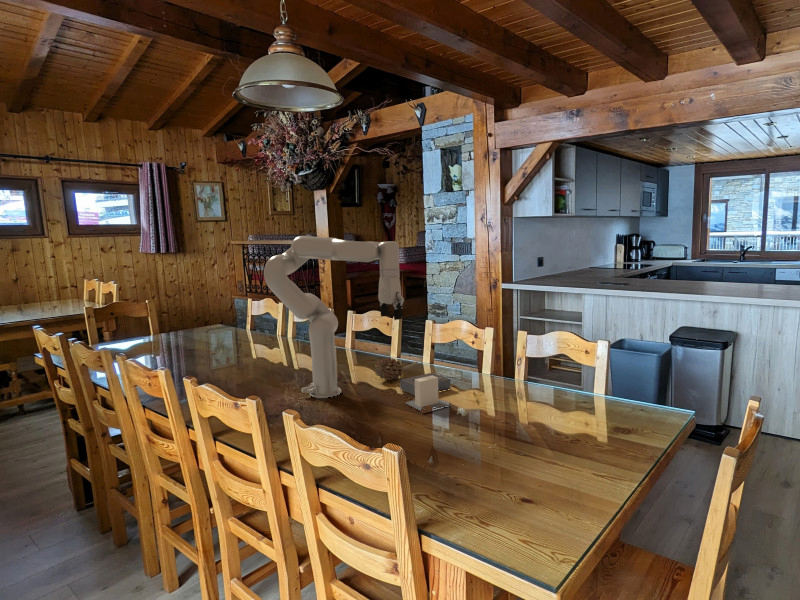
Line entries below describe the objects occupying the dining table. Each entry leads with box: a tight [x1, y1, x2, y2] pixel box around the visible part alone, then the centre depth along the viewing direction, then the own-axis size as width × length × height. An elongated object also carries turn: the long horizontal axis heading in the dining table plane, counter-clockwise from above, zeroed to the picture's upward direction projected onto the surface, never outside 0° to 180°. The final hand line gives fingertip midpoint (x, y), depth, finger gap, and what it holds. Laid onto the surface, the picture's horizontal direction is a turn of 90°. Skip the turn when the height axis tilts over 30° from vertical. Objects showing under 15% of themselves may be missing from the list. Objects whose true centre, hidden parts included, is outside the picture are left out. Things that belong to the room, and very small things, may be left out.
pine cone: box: [374, 357, 418, 381], centre depth 217 cm, size 22×10×10 cm, turn 129°
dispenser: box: [399, 372, 451, 395], centre depth 200 cm, size 16×12×5 cm
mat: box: [404, 399, 451, 412], centre depth 183 cm, size 12×12×1 cm
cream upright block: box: [414, 376, 439, 407], centre depth 182 cm, size 8×4×10 cm, turn 123°
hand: (391, 317), depth 194 cm, fingers open, 9 cm apart
